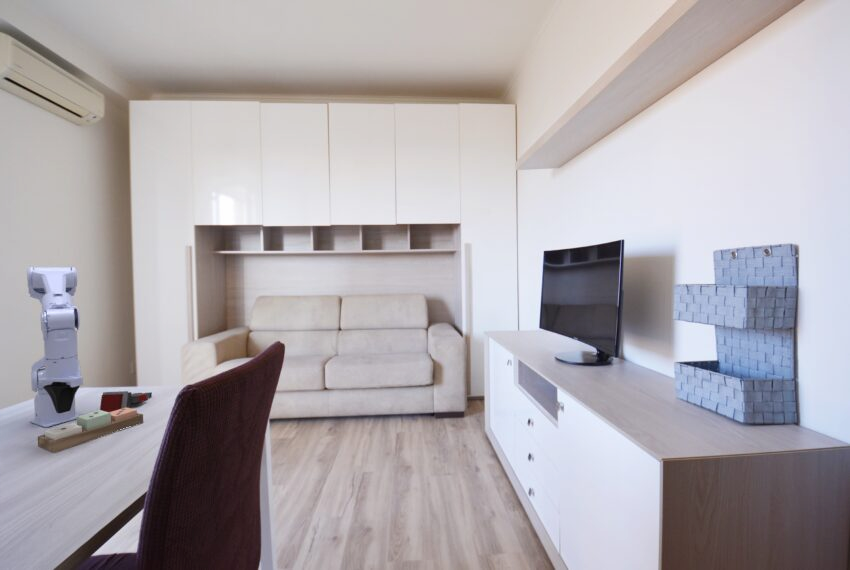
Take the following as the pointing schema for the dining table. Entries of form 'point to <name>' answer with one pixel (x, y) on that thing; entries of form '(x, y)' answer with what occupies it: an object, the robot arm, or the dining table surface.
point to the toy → (121, 400)
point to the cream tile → (63, 431)
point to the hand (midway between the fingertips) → (63, 411)
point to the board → (87, 434)
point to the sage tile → (94, 419)
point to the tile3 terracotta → (122, 414)
